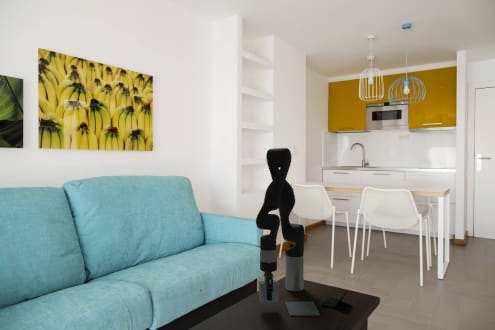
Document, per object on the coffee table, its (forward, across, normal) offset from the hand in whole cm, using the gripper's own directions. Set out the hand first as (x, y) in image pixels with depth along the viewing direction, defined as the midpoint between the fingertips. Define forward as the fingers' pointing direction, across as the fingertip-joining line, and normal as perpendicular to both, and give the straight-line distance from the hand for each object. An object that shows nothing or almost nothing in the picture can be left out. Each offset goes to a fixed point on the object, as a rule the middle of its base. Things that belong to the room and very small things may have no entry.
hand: (268, 297), depth 158 cm
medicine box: (+2, 0, 0) cm, 2 cm away
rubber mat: (+6, 0, +15) cm, 16 cm away
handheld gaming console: (+6, -6, +31) cm, 32 cm away
